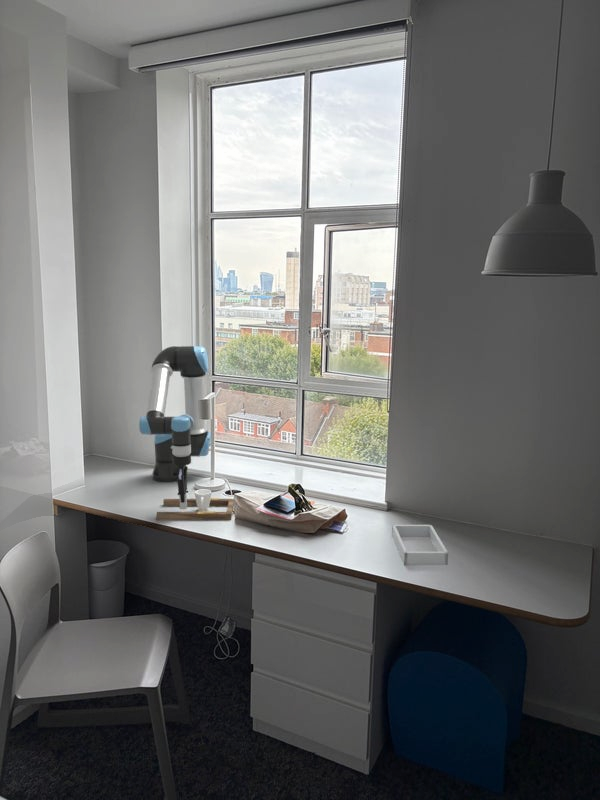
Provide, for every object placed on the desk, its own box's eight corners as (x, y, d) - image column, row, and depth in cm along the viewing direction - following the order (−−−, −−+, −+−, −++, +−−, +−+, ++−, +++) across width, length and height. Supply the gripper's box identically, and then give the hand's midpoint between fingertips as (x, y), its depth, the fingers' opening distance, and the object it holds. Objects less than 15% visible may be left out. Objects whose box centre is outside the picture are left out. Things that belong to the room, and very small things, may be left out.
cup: (212, 506, 261) (211, 488, 259) (211, 515, 251) (210, 497, 250) (195, 507, 260) (195, 489, 259) (193, 516, 251) (193, 497, 249)
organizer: (391, 535, 233) (392, 524, 232) (430, 535, 233) (431, 524, 232) (404, 565, 209) (404, 553, 209) (447, 564, 210) (448, 552, 209)
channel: (164, 504, 263) (164, 498, 263) (234, 504, 264) (234, 498, 263) (156, 519, 246) (156, 513, 246) (231, 519, 247) (230, 513, 247)
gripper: (175, 449, 256) (176, 503, 261) (169, 459, 244) (171, 514, 248) (193, 449, 257) (194, 502, 261) (188, 459, 244) (190, 514, 249)
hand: (183, 508), depth 255 cm, fingers closed
